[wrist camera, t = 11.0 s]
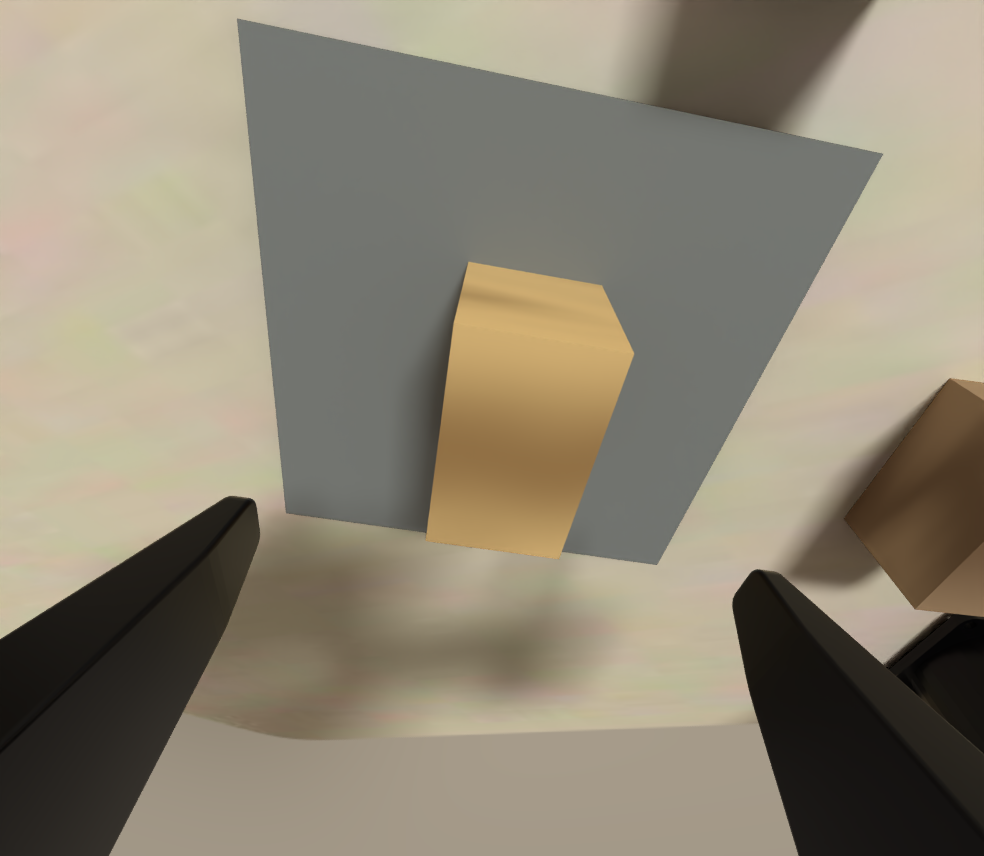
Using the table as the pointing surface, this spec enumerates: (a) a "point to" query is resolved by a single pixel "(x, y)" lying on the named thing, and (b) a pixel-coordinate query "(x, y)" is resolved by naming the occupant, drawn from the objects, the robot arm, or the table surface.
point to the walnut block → (932, 506)
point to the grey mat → (515, 265)
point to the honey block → (523, 409)
